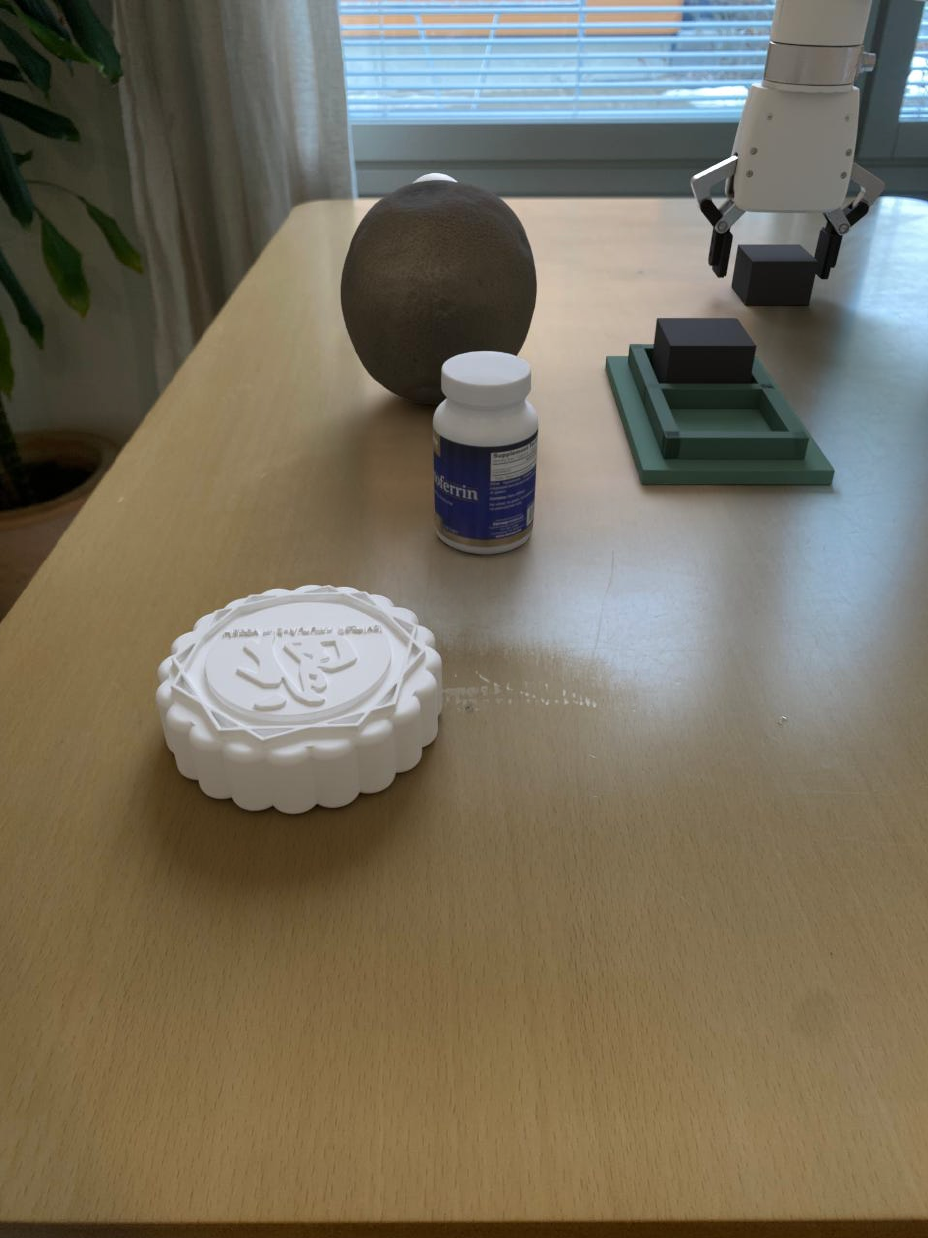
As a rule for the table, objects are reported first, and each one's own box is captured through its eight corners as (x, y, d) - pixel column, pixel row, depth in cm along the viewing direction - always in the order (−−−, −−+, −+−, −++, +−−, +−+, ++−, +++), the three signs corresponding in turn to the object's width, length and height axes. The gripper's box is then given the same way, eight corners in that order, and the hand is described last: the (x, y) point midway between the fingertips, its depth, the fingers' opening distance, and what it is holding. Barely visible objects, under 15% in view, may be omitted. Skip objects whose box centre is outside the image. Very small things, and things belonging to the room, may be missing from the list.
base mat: (754, 367, 76) (760, 337, 74) (831, 484, 59) (841, 448, 58) (605, 367, 76) (607, 336, 74) (641, 484, 59) (645, 448, 58)
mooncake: (138, 824, 37) (119, 757, 34) (194, 638, 46) (181, 577, 44) (447, 812, 37) (446, 745, 35) (438, 631, 47) (437, 570, 45)
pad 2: (791, 286, 93) (800, 244, 91) (809, 305, 89) (818, 261, 86) (731, 286, 93) (737, 244, 91) (745, 305, 89) (752, 261, 86)
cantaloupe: (305, 406, 69) (282, 186, 61) (432, 354, 78) (428, 155, 69) (451, 462, 62) (449, 220, 53) (573, 397, 71) (589, 181, 62)
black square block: (728, 369, 73) (737, 317, 70) (746, 400, 68) (757, 345, 65) (650, 369, 73) (656, 317, 70) (663, 400, 68) (670, 345, 65)
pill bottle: (415, 526, 55) (409, 361, 49) (492, 499, 58) (495, 339, 52) (474, 569, 51) (475, 396, 46) (553, 537, 54) (564, 370, 48)
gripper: (895, 64, 83) (846, 264, 93) (699, 61, 83) (671, 262, 93) (929, 74, 77) (872, 287, 87) (717, 71, 77) (685, 285, 87)
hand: (769, 274), depth 90 cm, fingers open, 9 cm apart
